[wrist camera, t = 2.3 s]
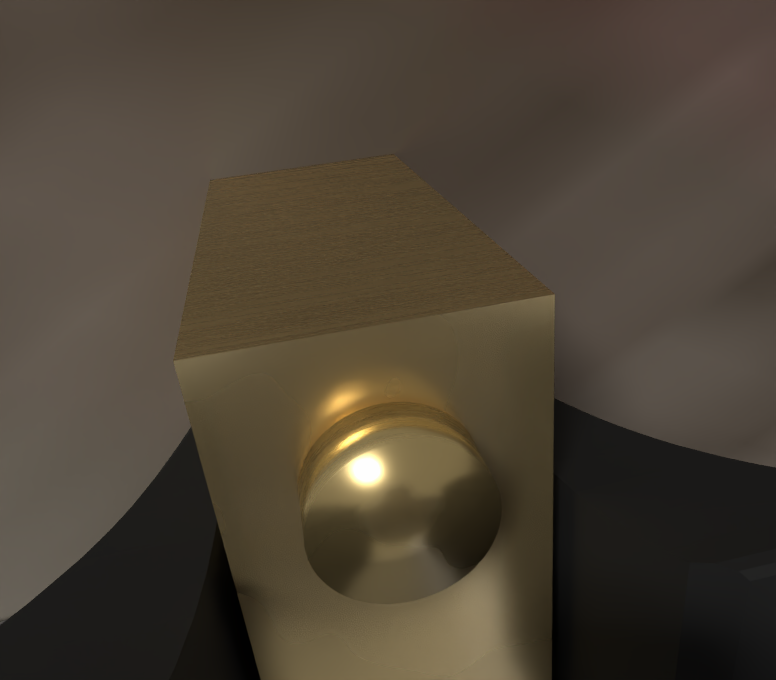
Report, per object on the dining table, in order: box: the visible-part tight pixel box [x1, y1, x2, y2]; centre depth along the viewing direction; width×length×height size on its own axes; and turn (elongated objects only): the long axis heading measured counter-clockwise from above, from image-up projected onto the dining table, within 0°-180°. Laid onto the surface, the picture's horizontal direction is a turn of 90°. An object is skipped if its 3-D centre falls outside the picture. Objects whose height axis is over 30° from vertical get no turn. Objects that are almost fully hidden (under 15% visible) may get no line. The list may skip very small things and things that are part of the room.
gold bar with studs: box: [173, 154, 555, 680], centre depth 10 cm, size 8×3×7 cm, turn 6°
